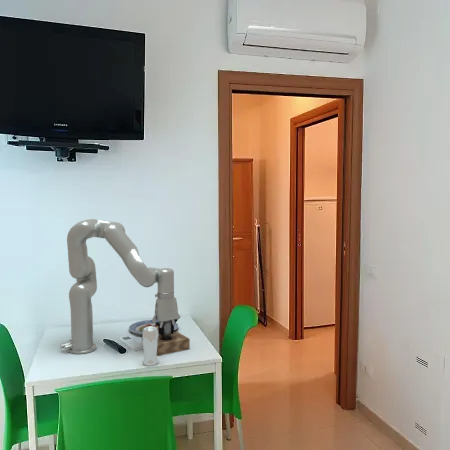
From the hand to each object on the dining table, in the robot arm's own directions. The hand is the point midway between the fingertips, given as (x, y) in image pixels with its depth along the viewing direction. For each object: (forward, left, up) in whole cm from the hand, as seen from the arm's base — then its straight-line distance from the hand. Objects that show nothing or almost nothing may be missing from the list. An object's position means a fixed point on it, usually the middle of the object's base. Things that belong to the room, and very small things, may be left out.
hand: (166, 333), depth 209 cm
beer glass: (-13, -12, -7) cm, 19 cm away
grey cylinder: (0, 0, -2) cm, 2 cm away
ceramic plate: (+7, +30, -8) cm, 32 cm away
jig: (0, 0, -7) cm, 7 cm away
